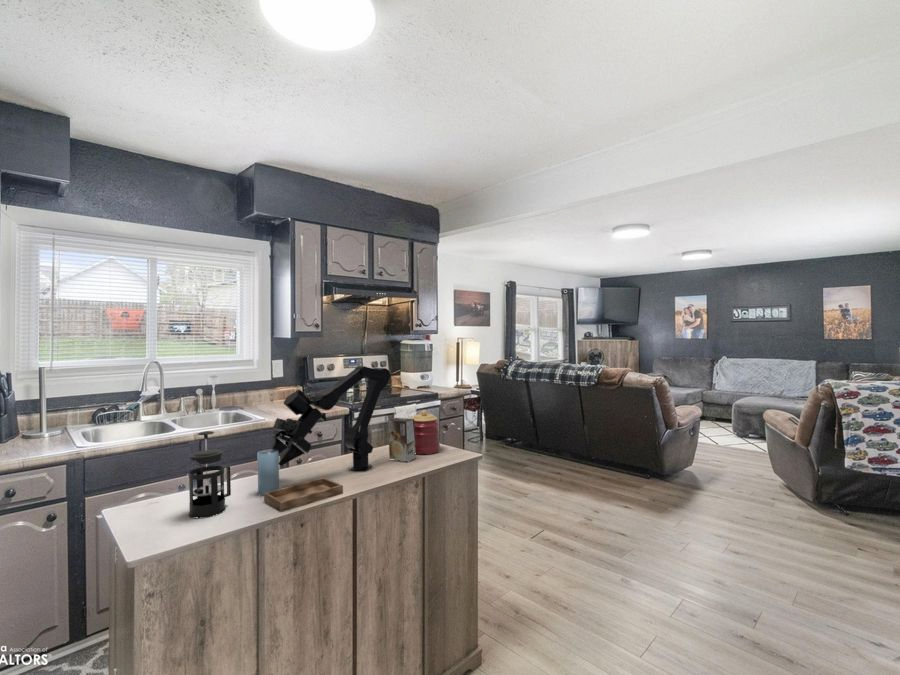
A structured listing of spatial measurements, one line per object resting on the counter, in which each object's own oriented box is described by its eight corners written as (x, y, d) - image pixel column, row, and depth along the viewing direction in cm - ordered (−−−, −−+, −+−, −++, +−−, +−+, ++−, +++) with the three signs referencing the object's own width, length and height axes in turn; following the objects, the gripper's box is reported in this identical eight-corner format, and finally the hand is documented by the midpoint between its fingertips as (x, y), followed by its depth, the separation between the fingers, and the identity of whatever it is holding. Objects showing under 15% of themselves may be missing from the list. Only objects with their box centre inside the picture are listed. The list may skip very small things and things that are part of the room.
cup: (265, 488, 148) (264, 448, 148) (283, 489, 147) (282, 449, 147) (254, 495, 142) (252, 453, 142) (272, 495, 141) (271, 454, 140)
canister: (428, 457, 182) (427, 413, 182) (403, 453, 189) (402, 411, 189) (445, 449, 193) (445, 409, 193) (421, 446, 200) (420, 406, 200)
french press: (195, 522, 122) (193, 437, 121) (180, 514, 127) (178, 433, 127) (237, 508, 131) (236, 429, 131) (221, 501, 137) (220, 426, 137)
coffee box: (416, 458, 180) (415, 418, 180) (407, 462, 175) (406, 421, 175) (397, 456, 184) (396, 417, 184) (388, 460, 179) (387, 419, 179)
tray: (323, 484, 150) (323, 477, 150) (342, 493, 142) (342, 485, 142) (264, 501, 136) (263, 493, 136) (281, 511, 127) (281, 503, 127)
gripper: (277, 406, 156) (245, 443, 148) (301, 411, 142) (267, 452, 135) (299, 425, 161) (269, 462, 154) (324, 432, 148) (293, 473, 140)
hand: (273, 462), depth 145 cm, fingers open, 9 cm apart
